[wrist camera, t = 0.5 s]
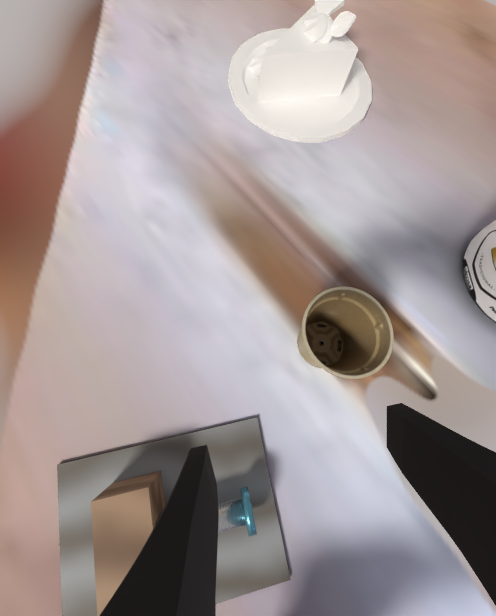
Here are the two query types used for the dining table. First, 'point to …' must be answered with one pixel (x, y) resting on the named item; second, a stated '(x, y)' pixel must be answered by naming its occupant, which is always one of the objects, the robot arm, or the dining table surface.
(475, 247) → the milk container
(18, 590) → the dining table surface
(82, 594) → the hitch block
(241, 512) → the pin
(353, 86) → the dish
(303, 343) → the flower pot
